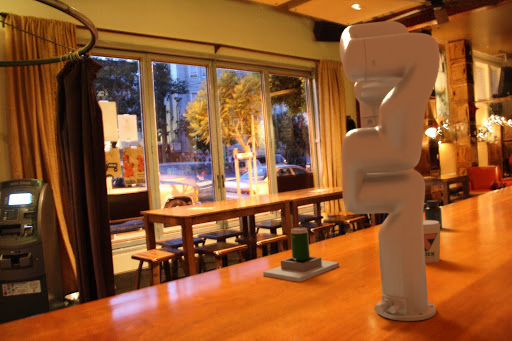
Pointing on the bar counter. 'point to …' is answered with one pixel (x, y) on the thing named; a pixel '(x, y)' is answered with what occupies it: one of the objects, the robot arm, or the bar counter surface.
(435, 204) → the supplement bottle
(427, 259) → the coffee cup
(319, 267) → the holder board
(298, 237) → the beer can
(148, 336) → the bar counter surface
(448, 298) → the bar counter surface
